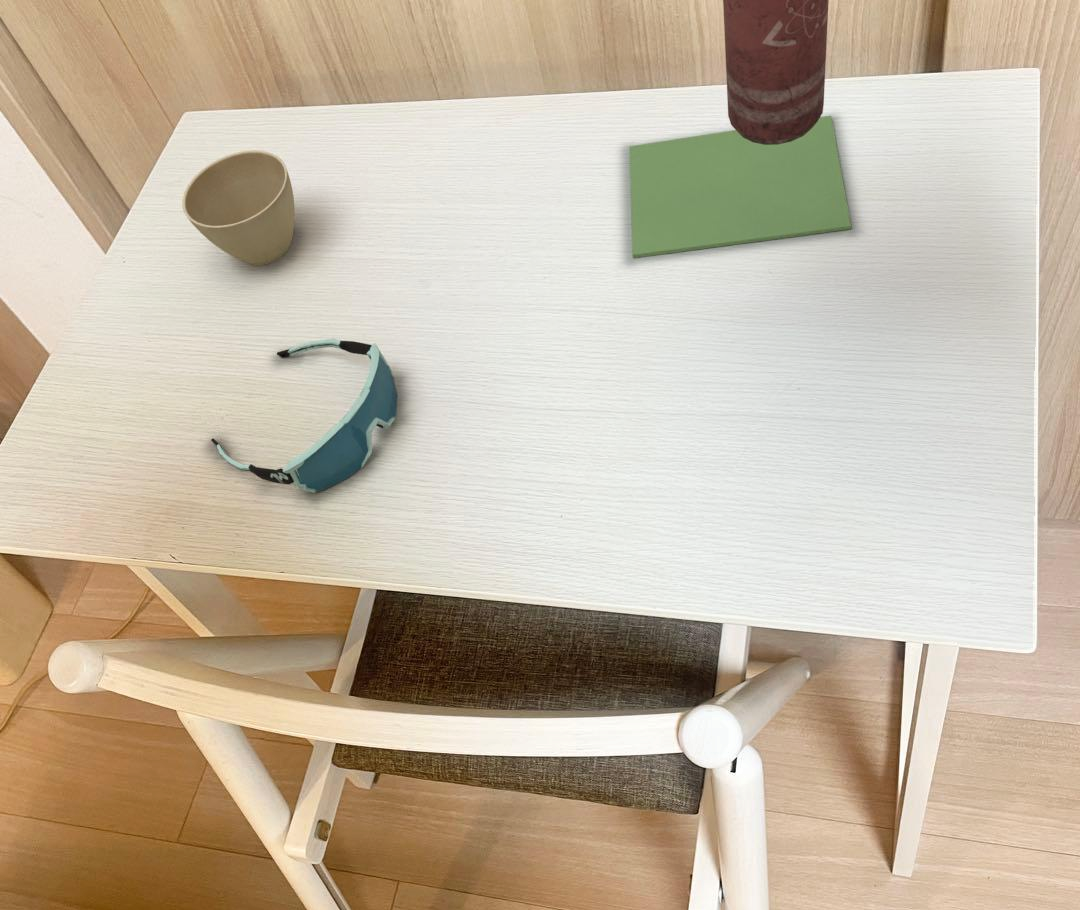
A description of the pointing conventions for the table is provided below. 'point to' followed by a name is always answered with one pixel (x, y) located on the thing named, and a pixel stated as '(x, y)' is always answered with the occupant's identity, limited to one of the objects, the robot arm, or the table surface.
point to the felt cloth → (734, 191)
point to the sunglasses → (338, 427)
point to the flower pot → (244, 206)
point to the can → (775, 67)
